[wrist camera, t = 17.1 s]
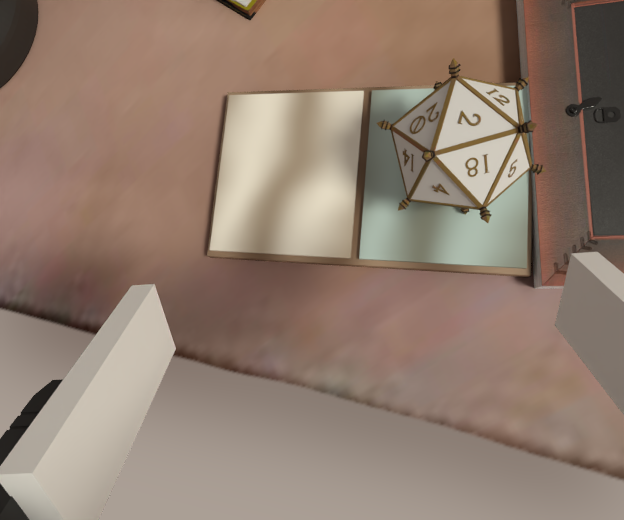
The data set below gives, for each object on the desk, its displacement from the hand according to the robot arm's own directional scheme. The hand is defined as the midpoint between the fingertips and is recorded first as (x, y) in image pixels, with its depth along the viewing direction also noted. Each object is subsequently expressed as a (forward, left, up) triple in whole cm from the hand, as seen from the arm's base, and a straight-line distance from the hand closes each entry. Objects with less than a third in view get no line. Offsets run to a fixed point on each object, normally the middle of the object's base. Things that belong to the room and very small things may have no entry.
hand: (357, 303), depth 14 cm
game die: (+4, +10, -14) cm, 18 cm away
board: (-2, +10, -15) cm, 18 cm away
